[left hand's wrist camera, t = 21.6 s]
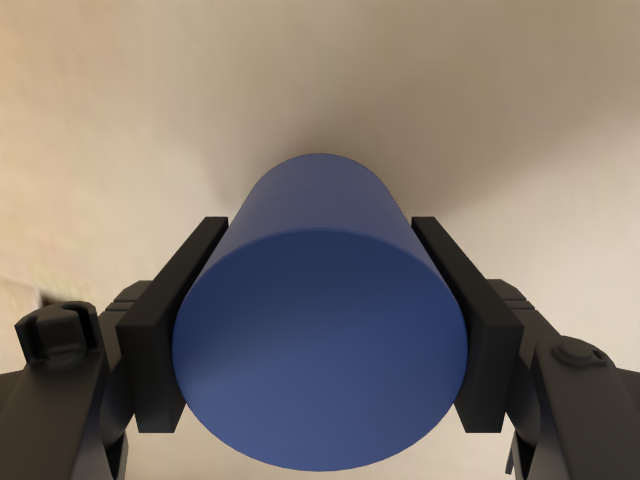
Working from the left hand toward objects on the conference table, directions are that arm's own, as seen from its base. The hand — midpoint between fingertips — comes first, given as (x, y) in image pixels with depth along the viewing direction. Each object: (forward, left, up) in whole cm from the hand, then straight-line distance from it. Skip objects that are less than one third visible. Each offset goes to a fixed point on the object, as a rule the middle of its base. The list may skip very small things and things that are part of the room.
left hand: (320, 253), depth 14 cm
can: (0, 0, -2) cm, 2 cm away
